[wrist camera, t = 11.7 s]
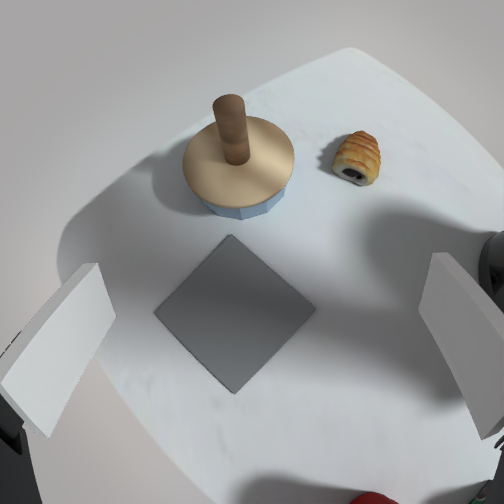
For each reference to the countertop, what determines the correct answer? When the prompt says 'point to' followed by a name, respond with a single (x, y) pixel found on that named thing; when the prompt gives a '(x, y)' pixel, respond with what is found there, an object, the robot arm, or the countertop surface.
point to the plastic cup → (373, 499)
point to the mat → (234, 313)
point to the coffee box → (482, 494)
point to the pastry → (358, 159)
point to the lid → (238, 158)
